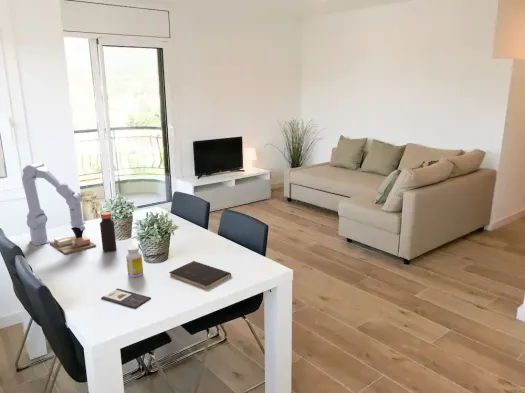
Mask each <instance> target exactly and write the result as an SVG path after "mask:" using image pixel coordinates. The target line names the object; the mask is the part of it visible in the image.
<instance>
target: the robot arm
mask: <svg viewBox="0 0 525 393" xmlns="http://www.w3.org/2000/svg"><path fill="white" fill-rule="evenodd" d="M37 178H38V179H39V178H40V179H44V180H46V181H47V182H48V183H50V185H52V186H53V187H55V191H56V192H57V193H58V194H59V195H60V196H61V197H62V198H63V199H64V200H65V203H66V204H67V205H68V209H69V215H70V222H69V223H70V225H71V226H70V227H71V230H72V232H73V233H74V236H76V238H80V237H83V233H84V232H85V230H86V227H85V224H86V222H85V221H83V220H84V219H83V213H82V206H81V205H82V201H83V196H82V195H81V194H80V193H79V192H76V191H74V190H73V189H71V188H70V187H69V185H68V184H67V183H63V182H60V181H59V179H57V177H56V176H55V175H54V174H53V173H52V172H50V170H49V168H48V166H46V165H45V163H43V162H40V161H39V162H35V163H32V164H28V165H26V166H25V167H24V168H22V177H21V181H22V185H23V189H24V194H25V198H26V202H27V206H28V207H27V208H28V213H27V215H26V225H27V227H28V228H29V233H30V240H29V243H30V244H32V245H33V246H35V247H37V246H40V245H44V244H48V243H49V244H50V242H51V240H49V239H48V234H47V228H46V225H47V222H48V216H47V215H46V213H45V210H44V209H42V208H41V205H40V204H41V203H40V199H39V195H38V190H37V186H36V183H35V182H36V180H37Z"/></svg>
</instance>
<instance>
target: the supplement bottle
mask: <svg viewBox="0 0 525 393" xmlns="http://www.w3.org/2000/svg"><path fill="white" fill-rule="evenodd" d="M139 248H140V247H139V246H136V245H134V246H132V245H131V246H129V247H127V253H126V258H125V259H126V268H127V276H128V277H131V278H137V277H141V276H142V275H143V274H144V267H143V257H142V256H143V255H142V253H141V252H140V250H139Z"/></svg>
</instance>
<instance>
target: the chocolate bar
mask: <svg viewBox="0 0 525 393" xmlns="http://www.w3.org/2000/svg"><path fill="white" fill-rule="evenodd" d="M100 298H101V300H104V301H107V302H112V303H114V304H118V305H121V306H124V307H128V308H130V309H134V310H136V309H137V308H139V307H140V306H142V305H143V304H145V303H147V302H148V301H150V300H151V299H152V298H151V297H150V296H147V295H143V294H140V293H136V292H133V291H128V290H125V289H121V288H115V289H114V290H112V291H111V292H108V293H107V294H105V295H104V296H101V297H100Z"/></svg>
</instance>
